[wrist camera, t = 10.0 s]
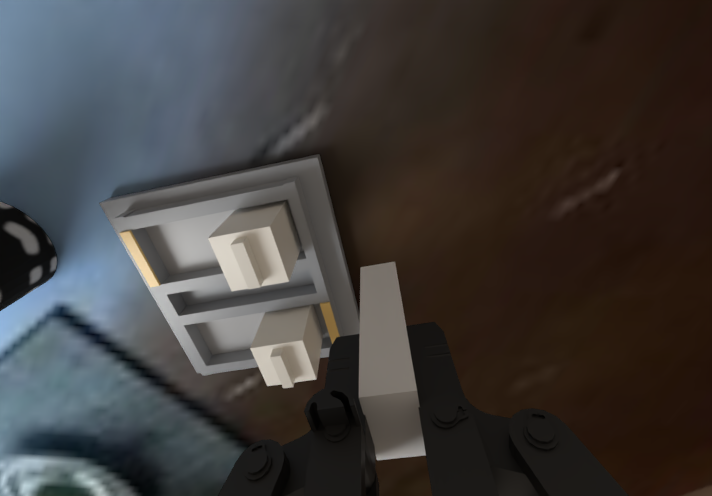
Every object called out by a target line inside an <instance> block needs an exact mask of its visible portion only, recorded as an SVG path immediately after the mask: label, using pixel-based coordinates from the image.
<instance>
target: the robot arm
mask: <svg viewBox="0 0 712 496" xmlns="http://www.w3.org/2000/svg"><path fill="white" fill-rule="evenodd" d="M328 361H329V363H328V368H327V376H326V384H325V389H322V390H321V391H319V392H318V393H316V394H315V395H313V397H312V398H311V399H310V400H309V401H308V403H307V405H306V408H305V410H304V412H305V415H306V417H307V420H308V422H309V424H310V427H311V429H312V430H310V431H309V432H308V433H307V434H306V435H304V436H302V437H300V438H298V439H296V440H294V441H292V442H290V443H287V444H285V445H283V446H280V444H279V443H278V442H275V441H273V440H261V441H259V442H257V443H254V444H252V445H251V446H250V447H249V448H247V449H246V450H245V451H244V452H243V453H242V454H241V456H240V457H239V459H238V460H237V461H236V463H235V465H234V467H233V469H232V471H231V473H230V474H229V476H228V478H227V480H226V482H225V484H224V486H223V487H222V489H221V491H220V493H219V495H218V496H379V482H378V477H377V473H376V470H375V455H376V458H377V460H385V459H395V458H405V457H414V456H424V455H426V458H427V464H428V471H429V477H430V483H431V489H432V495H433V496H628V494H627V493H626V492H625V491H624V490H623V489H622V488H621V486H620V485H619V484H618V483H617V482H616V481H615V480H614V479H613V477H612V476H611V475H610V474H609V473H608V472H607V471H606V469H605V468H604V467H603V466H602V465H601V464H600V463H599V462H598V460H597V459H596V458H595V457H594V456H593V455H592V454H591V452H590V451H589V450H588V449H587V448H586V447H585V446H584V445H583V443H582V442H581V441H580V440H579V439H578V438H577V437H576V435H575V434H574V433H573V432H572V431H571V430H570V429H569V428H568V426H567V425H566V424H565V423H563V422H562V421H561V420H560V419H559V418H557V417H556V416H555V415H552V414H550V413H548V412H546V411H544V410H538V409H532V408H531V409H525V410H521V411H519V412H517V413H516V414H514V415H513V417H512V418H505V417H500V416H494V415H490V414H487V413H484V412H482V411H480V410H478V409H476V408H475V407H474V406H473V405H471V404H470V403H469V402H468V400H467V399H466V398H465V396H464V394H463V392H462V389H461V385H460V382H459V379H458V376H457V373H456V370H455V366H454V363H453V360H452V357H451V355H450V351H449V348H448V345H447V341H446V338H445V335H444V332H443V330H442V329H441V328H440V327H439V326H438V325H437V324H436V323H435V322H431V323H424V324H417V325H410V326H406V322H405V317H404V311H403V305H402V300H401V294H400V288H399V282H398V277H397V271H396V265H395V262H390V263H384V264H378V265H372V266H366V267H361V269H360V334H355V335H348V336H341V337H336V339H335V341H334V342H333V344H332V346H331V347H330V351H329V360H328Z"/></svg>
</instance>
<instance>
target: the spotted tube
mask: <svg viewBox="0 0 712 496" xmlns="http://www.w3.org/2000/svg"><path fill="white" fill-rule="evenodd" d="M56 266H57V257H56V253H55V249H54V247H53V245H52V243H51V241H50V239H49V237H48V236H47V235H46V233H45V232H44V231H43V229H42V228H41V227H40V226H39V225H38V224H37V223H36V222H35V221H33V220H32V219H31V218H30V217H28V216H27V215H26V214H24V213H23V212H21V211H19V210H18V209H16V208H14V207H12V206H10V205H8V204H5V203H3V202H0V311H1V310H3V309H4V308H6V307H7V306H9V305H11V304H12V303H14V302H15V301H17V300H18V299H20V298H22V297H23V296H25V295H26V294H28V293H29V292H31V291H33V290H34V289H36V288H37V287H39V286H40V285H42V284H44V283H45V282H47V281H48V280H49V279H50V278H51V277H52V276H53V274H54V272H55V271H56Z"/></svg>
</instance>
